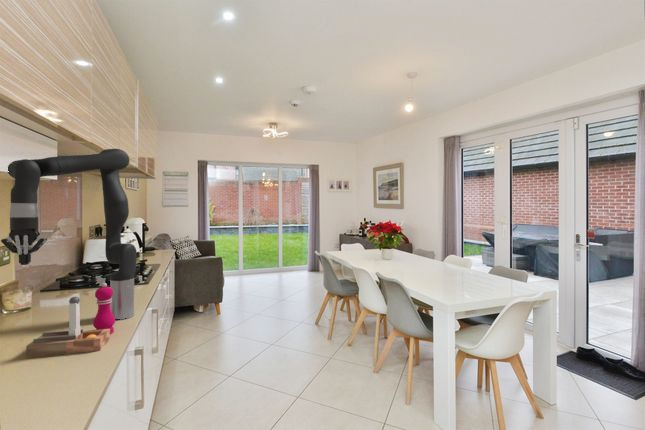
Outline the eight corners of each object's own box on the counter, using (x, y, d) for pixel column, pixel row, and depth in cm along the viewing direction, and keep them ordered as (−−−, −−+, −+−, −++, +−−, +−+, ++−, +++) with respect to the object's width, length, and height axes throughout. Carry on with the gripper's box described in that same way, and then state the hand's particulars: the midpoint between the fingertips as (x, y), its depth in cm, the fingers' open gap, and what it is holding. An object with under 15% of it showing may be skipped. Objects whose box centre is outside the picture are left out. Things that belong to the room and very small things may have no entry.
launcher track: (42, 345, 116) (42, 331, 116) (110, 339, 122) (110, 325, 122) (26, 357, 106) (26, 342, 106) (100, 350, 112) (100, 335, 112)
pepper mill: (91, 333, 127) (91, 282, 127) (112, 328, 132) (112, 279, 132) (95, 338, 122) (94, 286, 122) (117, 333, 127) (117, 283, 127)
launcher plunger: (72, 334, 116) (72, 295, 115) (82, 333, 117) (81, 294, 116) (66, 338, 112) (66, 298, 111) (77, 337, 113) (76, 298, 112)
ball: (94, 345, 118) (84, 339, 117) (102, 336, 118) (92, 330, 118) (89, 350, 114) (79, 344, 113) (98, 341, 115) (88, 334, 114)
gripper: (52, 215, 120) (52, 262, 121) (8, 215, 117) (8, 263, 117) (41, 216, 113) (41, 265, 114) (-7, 216, 109) (-6, 267, 110)
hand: (24, 264), depth 115 cm, fingers closed
